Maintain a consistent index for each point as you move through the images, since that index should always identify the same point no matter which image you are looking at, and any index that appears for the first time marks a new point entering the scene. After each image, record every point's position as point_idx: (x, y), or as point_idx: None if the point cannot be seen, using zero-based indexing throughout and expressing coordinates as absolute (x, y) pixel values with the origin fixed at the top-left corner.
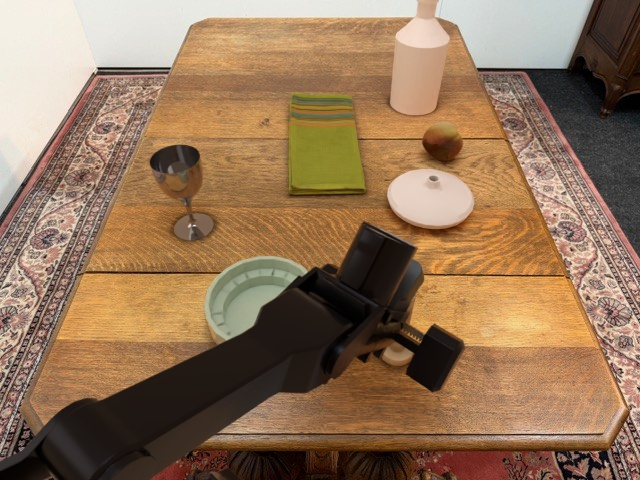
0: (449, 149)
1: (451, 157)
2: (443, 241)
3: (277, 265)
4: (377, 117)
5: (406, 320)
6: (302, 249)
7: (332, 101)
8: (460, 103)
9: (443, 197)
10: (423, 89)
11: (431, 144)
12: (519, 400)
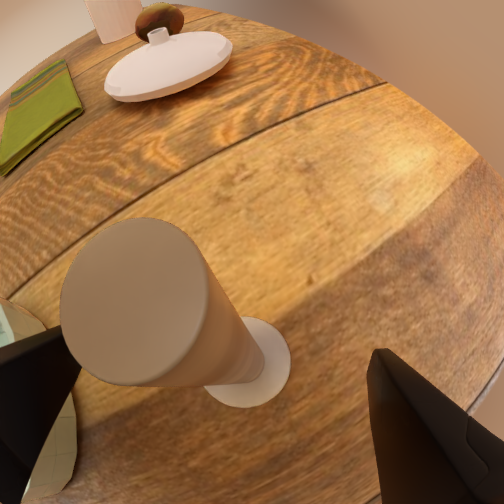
0: (169, 20)
1: (176, 30)
2: (214, 98)
3: None
4: (91, 55)
5: (237, 370)
6: (17, 242)
7: (46, 72)
8: None
9: (182, 45)
10: (124, 10)
11: None
12: (487, 296)
